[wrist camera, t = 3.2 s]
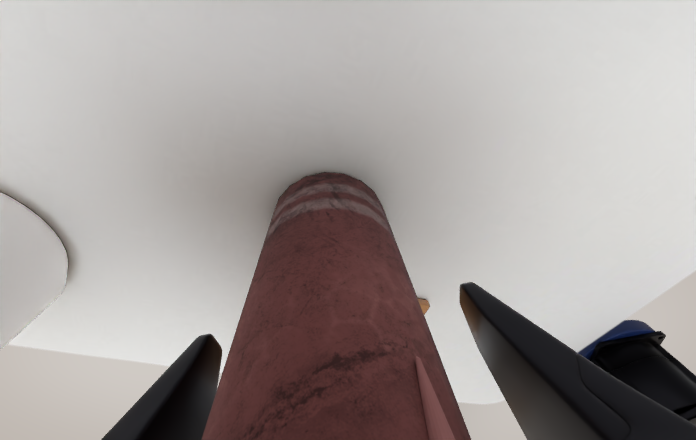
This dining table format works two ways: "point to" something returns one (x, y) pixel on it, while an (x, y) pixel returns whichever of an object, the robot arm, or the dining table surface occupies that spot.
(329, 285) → the can
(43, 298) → the alcohol
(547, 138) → the dining table surface
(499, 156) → the dining table surface
